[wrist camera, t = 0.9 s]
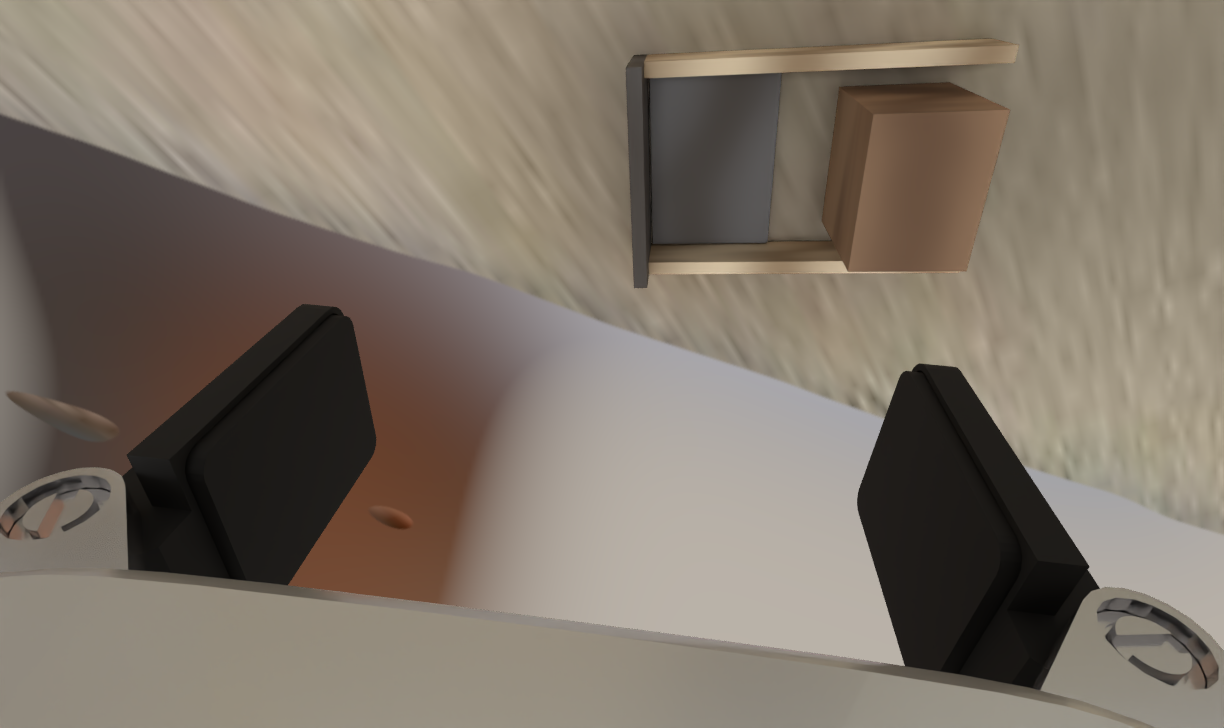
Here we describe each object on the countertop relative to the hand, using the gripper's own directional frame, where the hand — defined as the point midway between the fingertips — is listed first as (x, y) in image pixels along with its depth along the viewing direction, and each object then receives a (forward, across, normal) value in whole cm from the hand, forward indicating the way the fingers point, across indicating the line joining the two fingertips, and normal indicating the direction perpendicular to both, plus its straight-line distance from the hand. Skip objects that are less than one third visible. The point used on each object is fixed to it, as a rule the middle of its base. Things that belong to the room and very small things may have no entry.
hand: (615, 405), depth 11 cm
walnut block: (+21, -10, 0) cm, 23 cm away
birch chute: (+21, -6, +1) cm, 22 cm away
